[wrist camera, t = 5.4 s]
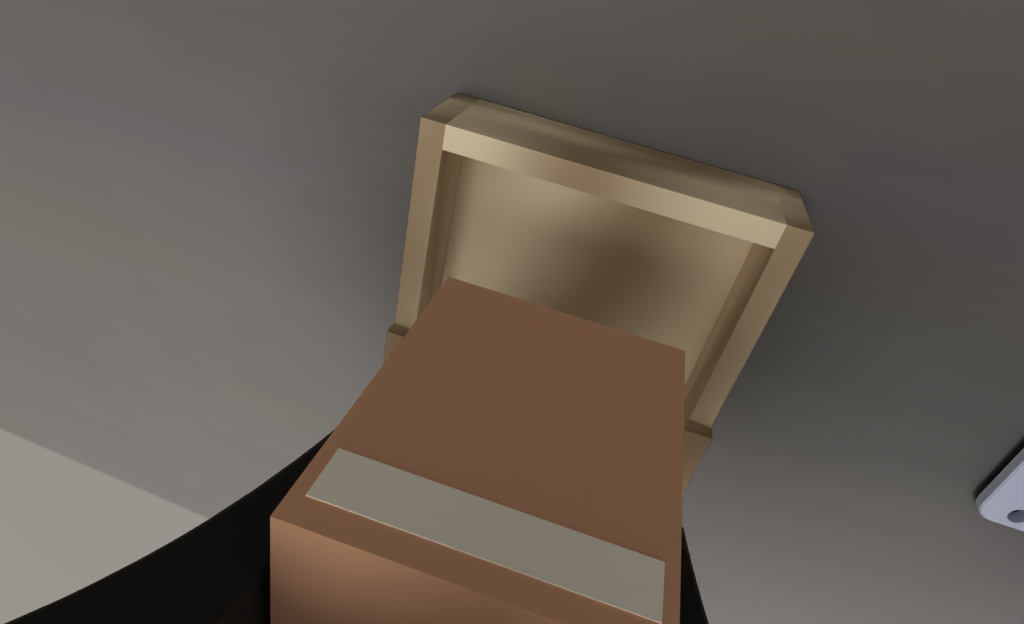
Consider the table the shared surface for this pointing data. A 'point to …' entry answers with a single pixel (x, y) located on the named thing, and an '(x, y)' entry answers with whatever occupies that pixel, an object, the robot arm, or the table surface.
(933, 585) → the table surface
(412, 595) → the brown cardboard box
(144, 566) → the robot arm
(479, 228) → the light wooden tray
